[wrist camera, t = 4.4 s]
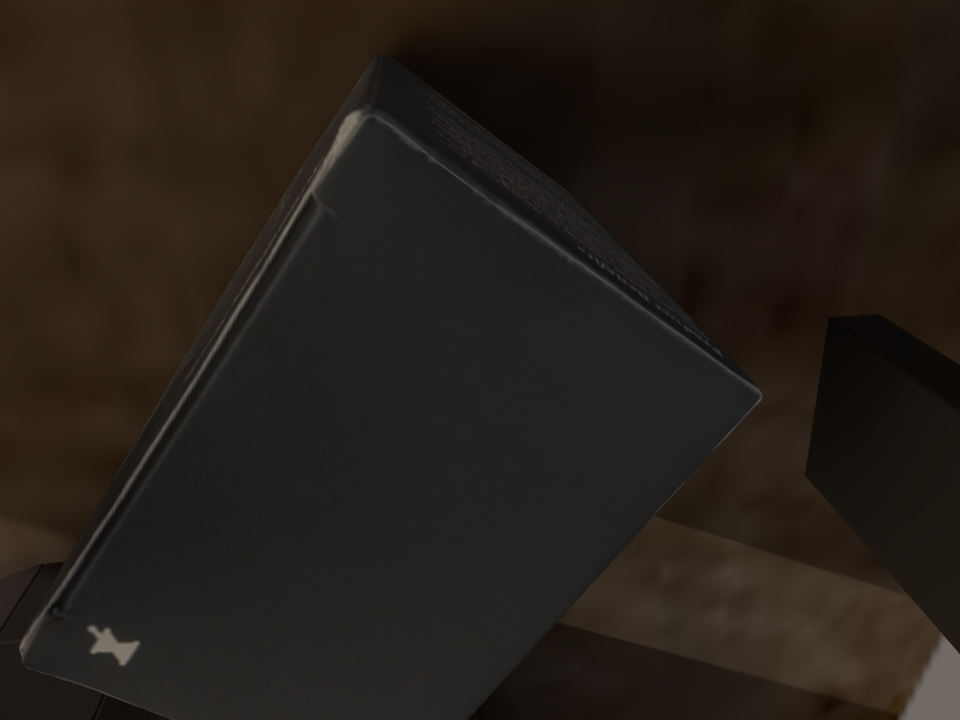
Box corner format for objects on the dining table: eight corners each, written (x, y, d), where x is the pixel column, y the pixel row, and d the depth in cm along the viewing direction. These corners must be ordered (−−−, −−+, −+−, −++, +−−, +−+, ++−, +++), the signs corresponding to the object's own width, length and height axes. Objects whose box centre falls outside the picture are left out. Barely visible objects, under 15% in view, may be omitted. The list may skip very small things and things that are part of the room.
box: (396, 438, 20) (394, 819, 11) (199, 325, 19) (-13, 663, 9) (583, 194, 18) (787, 403, 9) (380, 41, 16) (353, 88, 7)
